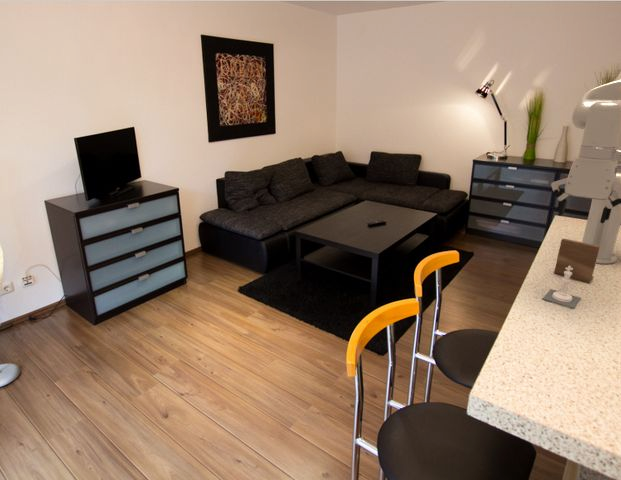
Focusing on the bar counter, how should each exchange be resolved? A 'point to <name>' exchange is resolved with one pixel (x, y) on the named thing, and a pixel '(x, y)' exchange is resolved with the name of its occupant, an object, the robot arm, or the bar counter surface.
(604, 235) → the robot arm
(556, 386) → the bar counter surface
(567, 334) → the bar counter surface
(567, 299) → the chess piece
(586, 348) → the bar counter surface
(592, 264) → the brown piece
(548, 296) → the pad
